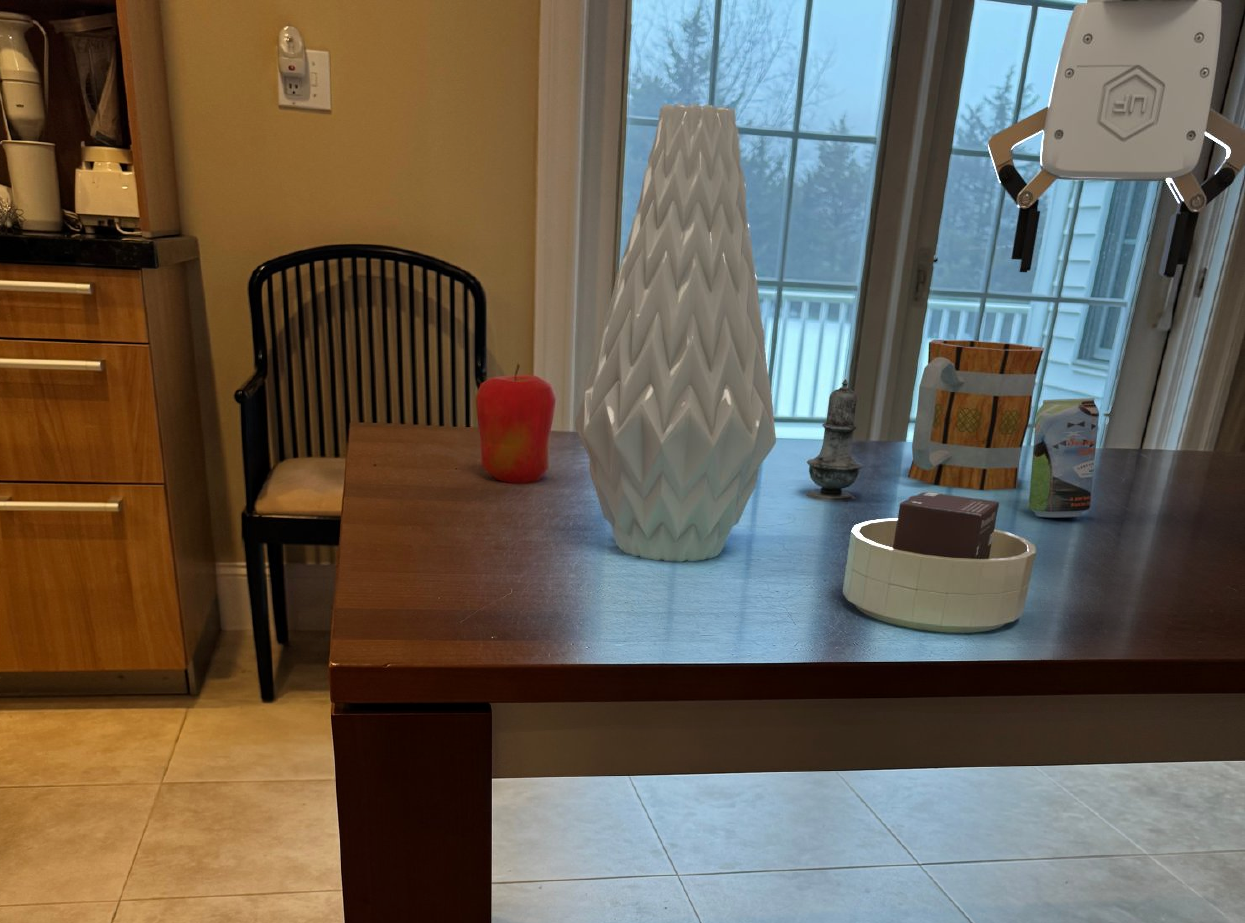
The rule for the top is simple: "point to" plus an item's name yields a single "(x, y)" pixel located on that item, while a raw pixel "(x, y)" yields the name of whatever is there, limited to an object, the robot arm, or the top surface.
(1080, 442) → the beverage can
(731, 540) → the top surface
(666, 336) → the vase
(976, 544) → the box
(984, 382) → the mug
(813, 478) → the salt shaker
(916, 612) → the bowl
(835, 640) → the top surface
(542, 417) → the apple
